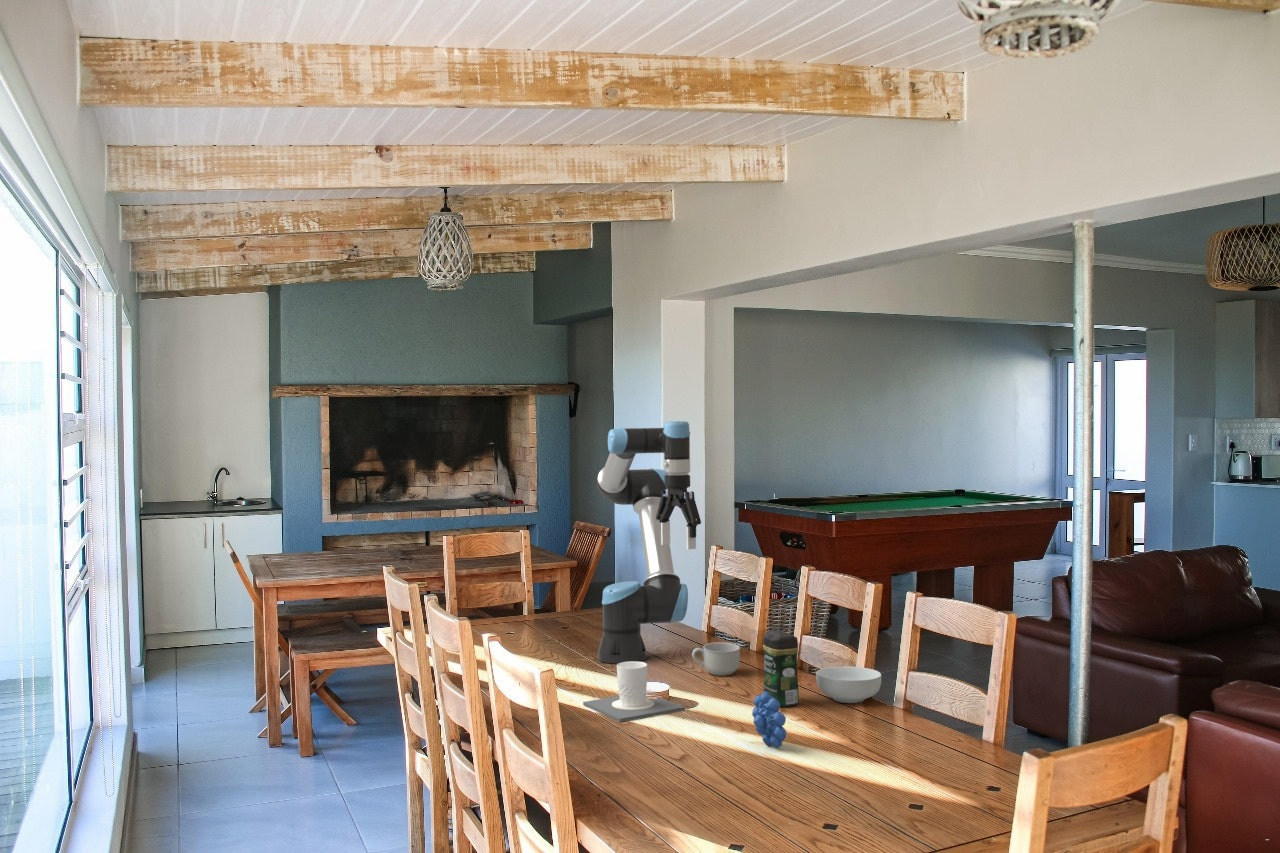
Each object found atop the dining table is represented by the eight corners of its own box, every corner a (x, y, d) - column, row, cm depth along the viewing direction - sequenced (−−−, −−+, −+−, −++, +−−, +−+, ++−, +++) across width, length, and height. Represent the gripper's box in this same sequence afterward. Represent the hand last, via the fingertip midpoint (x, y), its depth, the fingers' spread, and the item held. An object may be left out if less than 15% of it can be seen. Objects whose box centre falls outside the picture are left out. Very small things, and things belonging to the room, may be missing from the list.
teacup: (740, 669, 318) (740, 642, 318) (740, 678, 308) (740, 650, 308) (693, 668, 320) (693, 641, 320) (691, 677, 309) (691, 649, 309)
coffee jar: (759, 700, 284) (758, 629, 284) (786, 697, 286) (785, 627, 286) (775, 709, 275) (774, 636, 274) (803, 706, 277) (802, 633, 277)
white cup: (616, 699, 282) (616, 661, 282) (646, 698, 282) (646, 660, 282) (617, 708, 274) (617, 668, 274) (648, 707, 275) (648, 667, 274)
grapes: (739, 742, 247) (738, 690, 247) (763, 737, 251) (762, 686, 250) (768, 756, 237) (767, 701, 237) (793, 751, 240) (792, 697, 240)
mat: (583, 705, 281) (583, 701, 281) (645, 694, 291) (645, 690, 291) (619, 722, 265) (619, 718, 265) (684, 710, 275) (684, 706, 275)
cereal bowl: (893, 698, 284) (893, 671, 284) (860, 711, 271) (859, 683, 271) (838, 688, 295) (838, 662, 295) (803, 700, 283) (803, 673, 283)
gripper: (643, 472, 324) (645, 543, 324) (690, 476, 302) (691, 551, 303) (665, 471, 328) (666, 541, 328) (712, 475, 306) (713, 549, 307)
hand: (678, 546), depth 315 cm, fingers open, 13 cm apart
